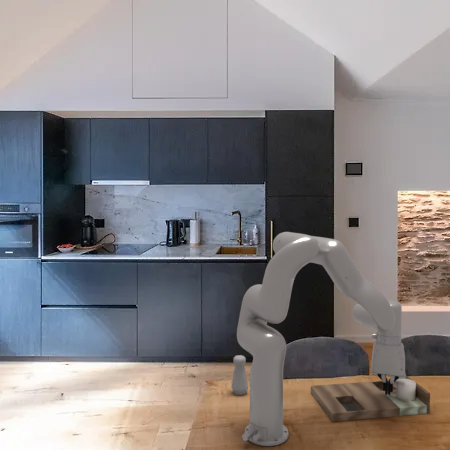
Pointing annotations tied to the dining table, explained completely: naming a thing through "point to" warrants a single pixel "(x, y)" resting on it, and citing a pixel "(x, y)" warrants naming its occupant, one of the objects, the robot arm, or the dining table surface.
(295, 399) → the dining table surface
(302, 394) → the dining table surface
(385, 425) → the dining table surface
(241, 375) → the salt shaker
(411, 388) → the white cup
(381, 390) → the board
